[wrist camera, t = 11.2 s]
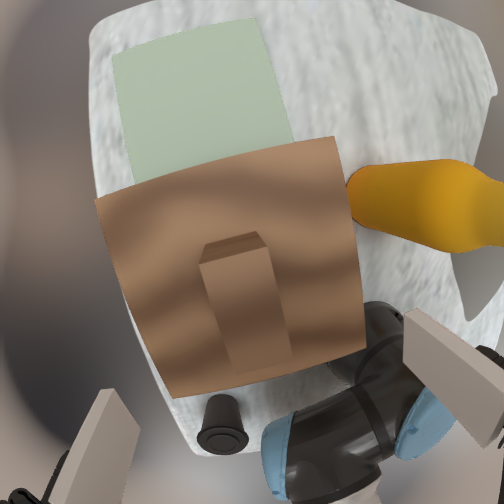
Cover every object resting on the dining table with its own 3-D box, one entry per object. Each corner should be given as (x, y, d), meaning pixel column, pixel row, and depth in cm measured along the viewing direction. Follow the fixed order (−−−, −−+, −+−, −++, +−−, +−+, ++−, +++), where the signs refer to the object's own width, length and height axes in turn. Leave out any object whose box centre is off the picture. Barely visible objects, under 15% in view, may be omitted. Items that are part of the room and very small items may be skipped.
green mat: (294, 148, 36) (295, 147, 36) (138, 189, 36) (136, 189, 35) (254, 20, 31) (255, 17, 31) (113, 58, 31) (111, 56, 30)
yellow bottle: (387, 161, 38) (556, 153, 10) (399, 218, 40) (559, 264, 12) (336, 172, 38) (514, 162, 9) (350, 234, 40) (514, 308, 12)
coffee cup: (204, 420, 45) (203, 460, 36) (194, 390, 43) (190, 431, 34) (247, 416, 46) (252, 456, 36) (241, 385, 44) (245, 427, 34)
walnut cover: (360, 340, 27) (395, 381, 19) (174, 389, 26) (164, 441, 19) (327, 138, 22) (369, 120, 15) (101, 199, 21) (55, 205, 14)
